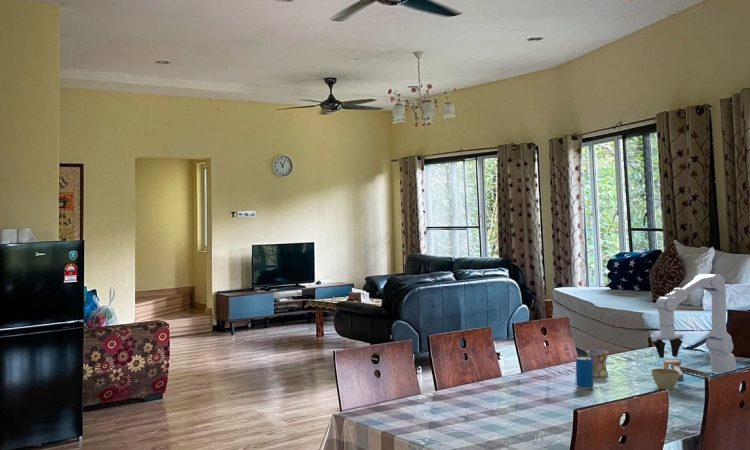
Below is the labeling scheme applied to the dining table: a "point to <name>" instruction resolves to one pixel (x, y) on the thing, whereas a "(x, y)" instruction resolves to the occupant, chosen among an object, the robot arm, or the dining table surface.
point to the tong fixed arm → (691, 370)
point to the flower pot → (665, 378)
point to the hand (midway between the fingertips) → (668, 357)
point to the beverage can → (584, 372)
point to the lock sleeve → (670, 363)
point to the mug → (598, 362)
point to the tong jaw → (679, 372)
